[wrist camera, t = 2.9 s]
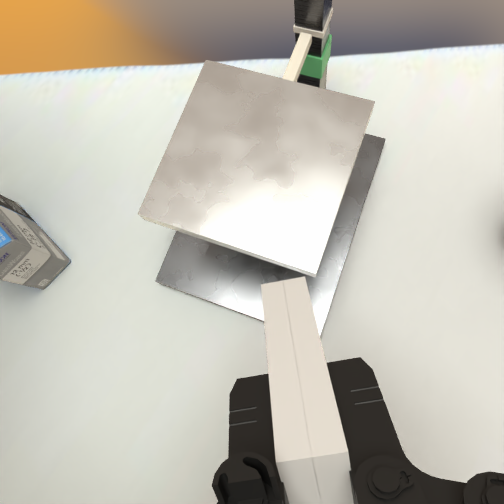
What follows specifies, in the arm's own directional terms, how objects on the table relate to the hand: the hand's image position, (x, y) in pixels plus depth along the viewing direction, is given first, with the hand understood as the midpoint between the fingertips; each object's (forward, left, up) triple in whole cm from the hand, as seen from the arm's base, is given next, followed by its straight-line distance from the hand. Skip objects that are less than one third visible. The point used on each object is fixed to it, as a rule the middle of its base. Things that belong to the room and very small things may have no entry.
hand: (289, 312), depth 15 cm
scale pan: (-6, +12, -17) cm, 22 cm away
